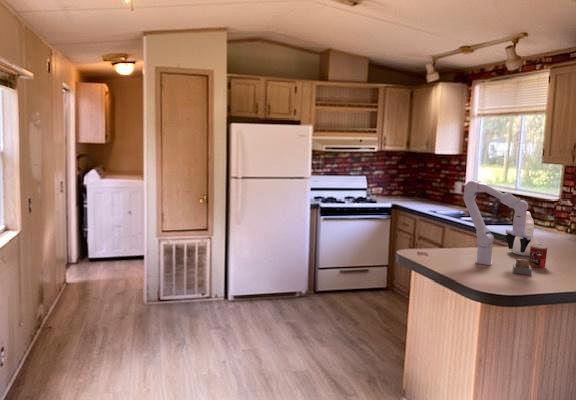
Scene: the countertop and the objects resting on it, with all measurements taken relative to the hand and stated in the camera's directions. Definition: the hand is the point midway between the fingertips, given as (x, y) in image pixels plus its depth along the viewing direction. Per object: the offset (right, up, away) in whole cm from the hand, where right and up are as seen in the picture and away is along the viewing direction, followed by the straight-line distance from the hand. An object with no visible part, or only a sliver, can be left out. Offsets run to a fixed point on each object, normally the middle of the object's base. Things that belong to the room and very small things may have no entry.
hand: (516, 250), depth 261 cm
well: (0, -10, -6) cm, 12 cm away
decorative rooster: (+17, -6, +32) cm, 37 cm away
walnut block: (0, -10, -6) cm, 12 cm away
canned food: (+14, -9, +7) cm, 18 cm away
